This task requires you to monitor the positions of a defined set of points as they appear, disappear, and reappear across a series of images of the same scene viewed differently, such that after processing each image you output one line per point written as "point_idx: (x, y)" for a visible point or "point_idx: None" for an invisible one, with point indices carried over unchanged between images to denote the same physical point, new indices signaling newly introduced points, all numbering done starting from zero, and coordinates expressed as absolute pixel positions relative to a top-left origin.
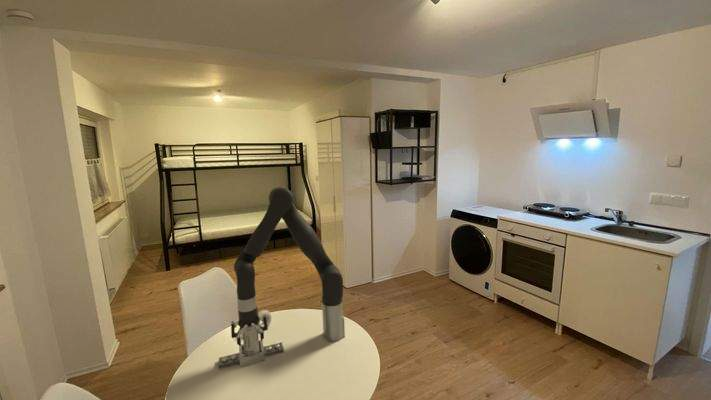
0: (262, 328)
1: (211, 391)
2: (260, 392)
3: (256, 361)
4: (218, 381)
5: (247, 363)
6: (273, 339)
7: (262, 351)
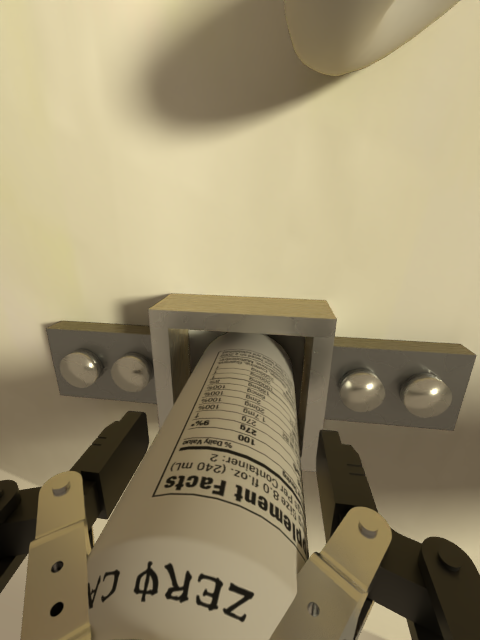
0: (379, 594)
1: None
2: None
3: None
4: None
5: None
6: (428, 239)
7: (308, 452)
